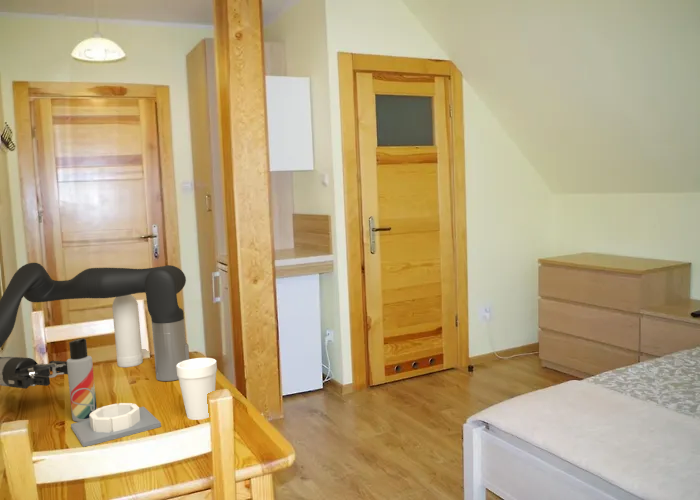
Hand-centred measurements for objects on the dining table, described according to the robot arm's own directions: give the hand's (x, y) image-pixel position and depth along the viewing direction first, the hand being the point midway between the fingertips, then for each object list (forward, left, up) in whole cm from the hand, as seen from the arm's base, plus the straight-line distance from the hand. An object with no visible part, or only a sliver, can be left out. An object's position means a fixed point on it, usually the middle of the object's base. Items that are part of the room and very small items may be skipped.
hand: (62, 375), depth 149 cm
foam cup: (-27, +22, -11) cm, 36 cm away
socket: (-8, +16, -11) cm, 21 cm away
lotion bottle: (-4, +4, -11) cm, 12 cm away
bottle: (-26, -38, -11) cm, 47 cm away
